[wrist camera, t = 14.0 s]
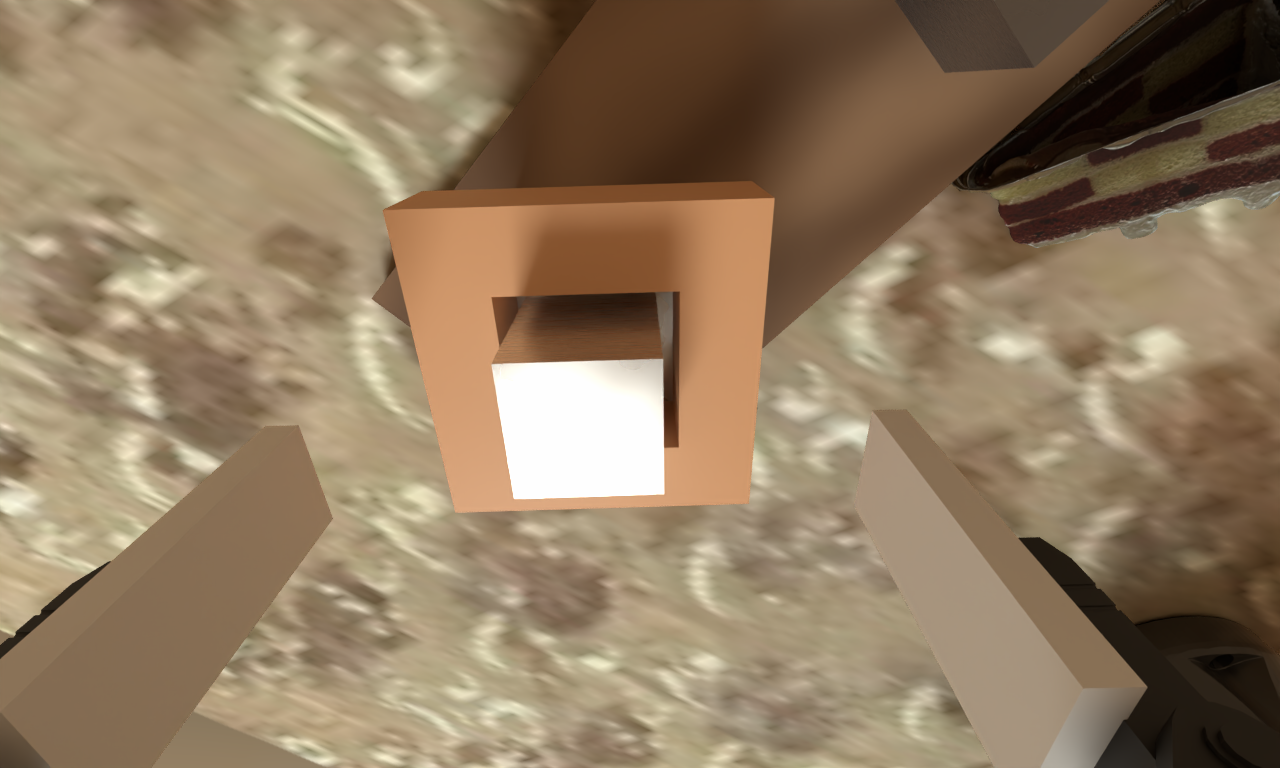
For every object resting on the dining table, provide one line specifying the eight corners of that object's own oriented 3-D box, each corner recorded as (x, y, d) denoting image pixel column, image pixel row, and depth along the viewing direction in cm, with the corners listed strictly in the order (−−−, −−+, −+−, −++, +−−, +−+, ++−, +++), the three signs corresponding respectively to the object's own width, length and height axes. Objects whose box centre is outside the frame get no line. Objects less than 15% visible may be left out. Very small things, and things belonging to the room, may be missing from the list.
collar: (752, 181, 17) (774, 198, 14) (734, 452, 21) (748, 503, 19) (422, 191, 17) (382, 209, 14) (477, 460, 21) (455, 512, 19)
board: (1246, -102, 19) (1293, -117, 17) (615, 460, 29) (614, 477, 28) (1051, -592, 14) (1094, -662, 13) (385, 287, 25) (371, 298, 23)
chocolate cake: (979, 301, 26) (1410, 282, 17) (935, 197, 22) (1476, 100, 13) (1020, 152, 29) (1408, 70, 20) (987, 34, 25) (1462, -137, 16)
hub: (686, 203, 22) (730, 295, 12) (684, 362, 25) (718, 534, 15) (510, 209, 22) (412, 304, 12) (531, 367, 25) (468, 542, 15)
